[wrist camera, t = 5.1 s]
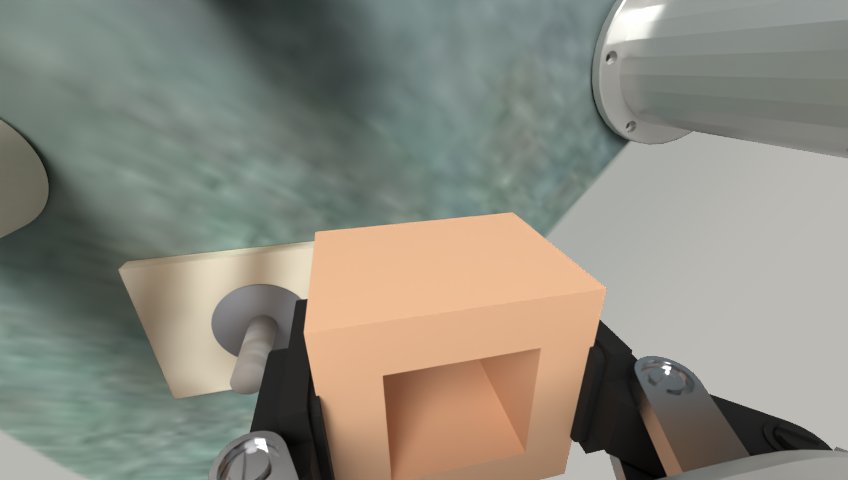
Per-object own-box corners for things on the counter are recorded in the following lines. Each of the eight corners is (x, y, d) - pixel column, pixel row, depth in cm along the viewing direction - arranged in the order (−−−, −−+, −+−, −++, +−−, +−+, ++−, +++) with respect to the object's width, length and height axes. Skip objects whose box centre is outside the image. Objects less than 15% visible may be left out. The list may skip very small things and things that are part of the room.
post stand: (359, 236, 28) (366, 284, 22) (372, 355, 34) (380, 422, 27) (127, 261, 26) (57, 325, 19) (180, 387, 31) (139, 471, 24)
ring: (512, 212, 12) (606, 288, 8) (499, 359, 14) (564, 473, 10) (315, 232, 10) (303, 333, 6) (339, 387, 13) (342, 528, 9)
